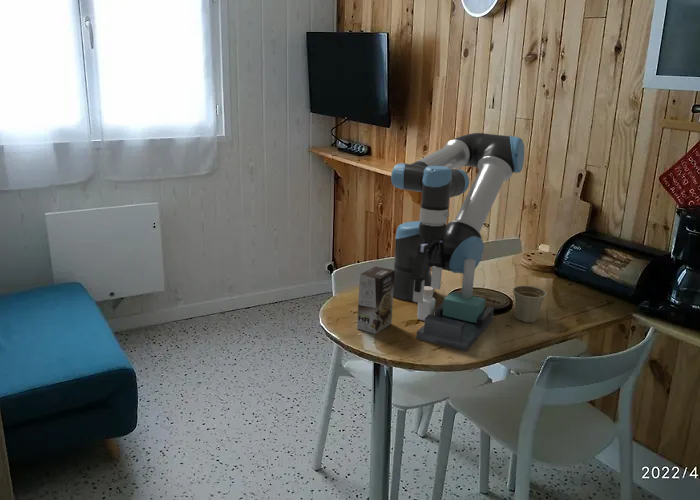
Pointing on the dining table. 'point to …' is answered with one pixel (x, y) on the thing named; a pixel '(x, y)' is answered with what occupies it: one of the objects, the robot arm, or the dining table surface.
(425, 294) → the pepper shaker
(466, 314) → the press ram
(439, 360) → the dining table surface
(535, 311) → the flower pot
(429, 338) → the tray
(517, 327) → the dining table surface
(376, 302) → the coffee box
